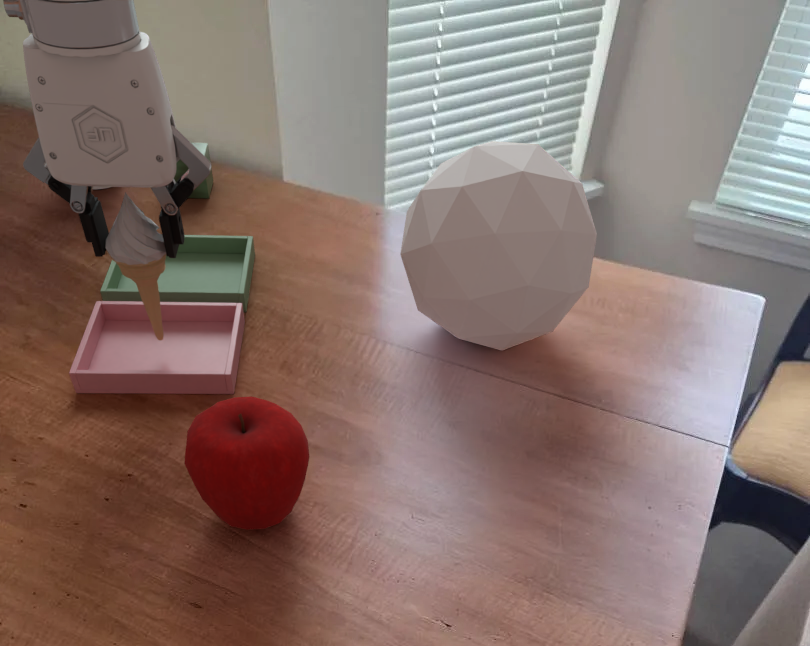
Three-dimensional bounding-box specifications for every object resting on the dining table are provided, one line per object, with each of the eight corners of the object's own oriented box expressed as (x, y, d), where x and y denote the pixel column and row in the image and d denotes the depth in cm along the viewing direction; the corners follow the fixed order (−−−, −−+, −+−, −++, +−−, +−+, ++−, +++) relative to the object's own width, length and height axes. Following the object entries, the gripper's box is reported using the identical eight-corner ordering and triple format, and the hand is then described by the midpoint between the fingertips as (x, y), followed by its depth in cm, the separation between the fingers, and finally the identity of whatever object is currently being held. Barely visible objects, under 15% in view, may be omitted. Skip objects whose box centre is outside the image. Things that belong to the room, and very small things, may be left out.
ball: (448, 355, 91) (437, 176, 86) (617, 341, 82) (615, 142, 77) (374, 360, 74) (356, 139, 70) (575, 343, 66) (570, 90, 61)
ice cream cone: (145, 362, 73) (106, 213, 62) (122, 334, 76) (80, 186, 65) (198, 344, 76) (169, 197, 64) (174, 317, 78) (142, 171, 67)
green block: (170, 197, 99) (163, 158, 95) (176, 180, 102) (169, 141, 98) (209, 198, 99) (203, 159, 95) (213, 181, 102) (207, 142, 98)
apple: (332, 529, 63) (328, 432, 55) (224, 570, 60) (202, 474, 52) (284, 456, 69) (274, 358, 60) (183, 491, 65) (157, 392, 57)
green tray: (105, 310, 82) (99, 291, 80) (126, 252, 90) (121, 233, 88) (246, 312, 83) (243, 293, 81) (255, 254, 91) (253, 235, 89)
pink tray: (75, 393, 73) (68, 373, 71) (102, 320, 81) (96, 300, 79) (234, 394, 74) (230, 374, 72) (244, 322, 82) (242, 302, 80)
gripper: (-58, 29, 52) (30, 270, 65) (196, 39, 53) (230, 273, 67) (-23, -4, 56) (52, 227, 70) (209, 5, 58) (238, 231, 71)
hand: (138, 247), depth 68 cm, fingers closed on ice cream cone, 5 cm apart
